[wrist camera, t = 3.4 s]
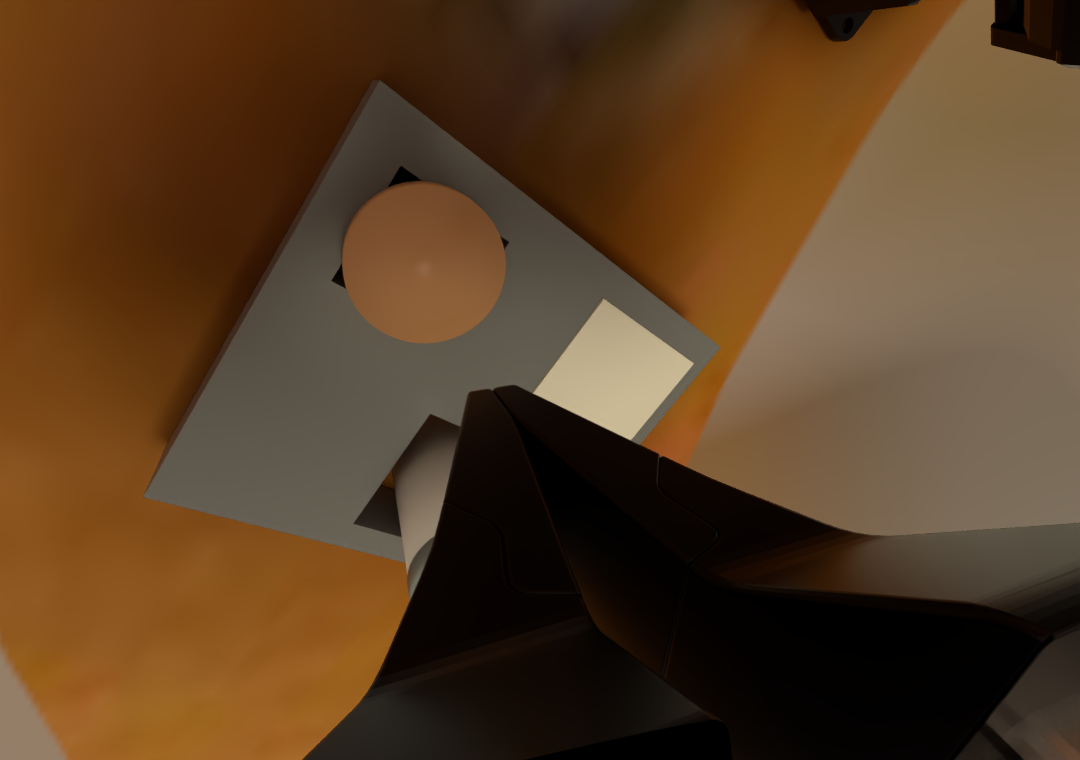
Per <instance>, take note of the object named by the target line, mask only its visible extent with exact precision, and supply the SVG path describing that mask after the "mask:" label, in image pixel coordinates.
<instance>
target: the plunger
mask: <svg viewBox="0 0 1080 760" xmlns="http://www.w3.org/2000/svg"><path fill="white" fill-rule="evenodd" d="M342 269H343V278H344V282H345V286H346V289H347V292H348V294H349V296H350V299H351V300H352V302H353V304H354V306H355V307H356V309H357V310H358V311H359V313H360V314H361V315H362V316H363V317H364V318H365V319H366V320H367V321H368V322H369V323H370V324H371V325H373V326H374V327H375V328H376V329H378V330H380V331H381V332H383V333H385V334H386V335H389V336H391V337H393V338H396V339H399V340H402V341H406V342H412V343H425V344H426V343H437V342H442V341H446V340H450V339H453V338H455V337H458V336H460V335H462V334H464V333H466V332H467V331H469V330H471V329H472V328H473V327H475V326H476V325H477V324H479V323H480V322H481V321H482V320H483V319H484V318H485V317H486V316H487V314H488V313H489V312H490V311H491V309H492V308H493V306H494V305H495V303H496V301H497V299H498V297H499V295H500V293H501V290H502V287H503V283H504V278H505V271H506V259H505V251H504V247H503V243H502V240H501V237H500V234H499V232H498V230H497V228H496V227H495V225H494V223H493V222H492V220H491V219H490V218H489V216H488V215H487V214H486V213H485V212H484V211H483V210H482V209H481V208H480V207H479V206H478V205H477V204H476V203H475V202H474V201H472V200H471V199H470V198H469V197H467V196H466V195H464V194H463V193H461V192H460V191H458V190H456V189H454V188H451V187H449V186H446V185H443V184H440V183H435V182H429V181H411V182H404V183H400V184H396V185H393V186H390V187H388V188H386V189H383V190H382V191H380V192H378V193H377V194H375V195H374V196H372V197H371V198H370V199H369V200H367V201H366V202H365V203H364V204H363V205H362V206H361V207H360V208H359V210H358V211H357V212H356V214H355V215H354V217H353V218H352V220H351V222H350V224H349V226H348V228H347V231H346V234H345V237H344V242H343V247H342Z"/></svg>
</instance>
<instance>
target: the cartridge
mask: <svg viewBox="0 0 1080 760" xmlns="http://www.w3.org/2000/svg"><path fill="white" fill-rule="evenodd" d="M459 430H460V426H457V425H455V424H453V423H451V422H448V421H446V420H444V419H441V418H439V417H437V416H434V415H432V414H430V415H429V416H428V418H427V419H426V421H425V422H424V424H423V425H422V426H421V428H420V429H419V431H418V432H417V434H416V435H415V436H414V438H413V439H412V441H411V442H410V444H409V445H408V446H407V448H406V449H405V451H404V452H403V454H402V455H401V456H400V458H399V459H398V461H397V462H396V463H395V465H394V466H393V468H392V475H393V482H394V488H395V495H396V502H397V508H398V515H399V522H400V528H401V535H402V542H403V548H404V555H405V561H406V568H407V585H408V592H409V599H411V597H412V594H413V592H414V590H415V587H416V585H417V583H418V580H419V578H420V576H421V573H422V570H423V568H424V565H425V562H426V560H427V557H428V554H429V552H430V549H431V546H432V543H433V539H434V536H435V532H436V528H437V525H438V521H439V517H440V512H441V508H442V505H443V501H444V496H445V492H446V487H447V483H448V478H449V474H450V470H451V465H452V461H453V456H454V452H455V447H456V443H457V439H458V434H459Z"/></svg>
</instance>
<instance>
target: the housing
mask: <svg viewBox="0 0 1080 760" xmlns="http://www.w3.org/2000/svg"><path fill="white" fill-rule="evenodd" d="M400 166H402V167H403V168H405V169H406V170H408V171H409V172H411V173H412V174H413V175H415V176H416V177H418V178H419V179H420V180H422V181H429V182H435V183H440V184H443V185H446V186H449V187H451V188H454V189H456V190H458V191H460V192H461V193H463V194H464V195H466V196H467V197H469V198H470V199H471V200H472V201H474V202H475V203H476V204H477V205H478V206H479V207H480V208H481V209H482V210H483V211H484V212H485V213H486V214H487V215H488V216H489V218H490V219H491V220H492V222H493V223H494V225H495V227H496V228H497V230H498V232H499V234H500V237H501V240H502V243H503V247H504V251H505V259H506V271H505V278H504V283H503V287H502V290H501V293H500V295H499V297H498V299H497V301H496V303H495V305H494V306H493V308H492V309H491V311H490V312H489V313H488V314H487V316H486V317H485V318H484V319H483V320H482V321H481V322H480V323H479V324H477V325H476V326H475V327H473V328H472V329H471V330H469V331H467V332H466V333H464V334H462V335H460V336H458V337H455V338H453V339H450V340H446V341H442V342H437V343H426V344H425V343H412V342H406V341H402V340H399V339H396V338H393V337H391V336H389V335H386V334H385V333H383V332H381V331H380V330H378V329H376V328H375V327H374V326H373V325H371V324H370V323H369V322H368V321H367V320H366V319H365V318H364V317H363V316H362V315H361V314H360V313H359V311H358V310H357V309H356V307H355V306H354V304H353V302H352V300H351V299H350V296H349V294H348V292H347V289H346V286H345V282H344V278H343V269H342V247H343V242H344V237H345V234H346V231H347V228H348V226H349V224H350V222H351V220H352V218H353V217H354V215H355V214H356V212H357V211H358V210H359V208H360V207H361V206H362V205H363V204H364V203H365V202H366V201H367V200H369V199H370V198H371V197H372V196H374V195H375V194H377V193H378V192H380V191H382V190H383V189H386V188H387V187H388V186H389V184H390V182H391V181H392V179H393V177H394V176H395V174H396V172H397V171H398V169H399V168H400ZM719 349H720V346H718V345H717V344H716V343H714V342H713V341H712V340H711V339H709V338H708V337H707V336H706V335H704V334H703V333H702V332H700V331H699V330H698V329H697V328H695V327H694V326H693V325H692V324H690V323H689V322H688V321H686V320H685V319H684V318H683V317H681V316H680V315H679V314H678V313H676V312H675V311H674V310H672V309H671V308H670V307H669V306H667V305H666V304H665V303H663V302H662V301H661V300H660V299H658V298H657V297H656V296H655V295H653V294H652V293H651V292H649V291H648V290H647V289H646V288H644V287H643V286H642V285H641V284H639V283H638V282H637V281H635V280H634V279H633V278H632V277H630V276H629V275H628V274H627V273H625V272H624V271H623V270H621V269H620V268H619V267H618V266H616V265H615V264H614V263H612V262H611V261H610V260H609V259H607V258H606V257H605V256H604V255H602V254H601V253H600V252H598V251H597V250H596V249H595V248H593V247H592V246H591V245H590V244H588V243H587V242H586V241H584V240H583V239H582V238H581V237H579V236H578V235H577V234H576V233H574V232H573V231H572V230H570V229H569V228H568V227H567V226H565V225H564V224H563V223H562V222H560V221H559V220H558V219H556V218H555V217H554V216H553V215H551V214H550V213H549V212H547V211H546V210H545V209H544V208H542V207H541V206H540V205H539V204H537V203H536V202H535V201H533V200H532V199H531V198H530V197H528V196H527V195H526V194H525V193H523V192H522V191H521V190H519V189H518V188H517V187H516V186H514V185H513V184H512V183H511V182H509V181H508V180H507V179H505V178H504V177H503V176H502V175H500V174H499V173H498V172H496V171H495V170H494V169H493V168H491V167H490V166H489V165H488V164H486V163H485V162H484V161H482V160H481V159H480V158H479V157H477V156H476V155H475V154H474V153H472V152H471V151H470V150H468V149H467V148H466V147H465V146H463V145H462V144H461V143H460V142H458V141H457V140H456V139H454V138H453V137H452V136H451V135H449V134H448V133H447V132H445V131H444V130H443V129H442V128H440V127H439V126H438V125H437V124H435V123H434V122H433V121H431V120H430V119H429V118H428V117H426V116H425V115H424V114H423V113H421V112H420V111H419V110H417V109H416V108H415V107H414V106H412V105H411V104H410V103H409V102H407V101H406V100H405V99H403V98H402V97H401V96H400V95H398V94H397V93H396V92H394V91H393V90H392V89H391V88H389V87H388V86H387V85H386V84H384V83H383V82H382V81H380V80H373V81H372V82H371V84H370V86H369V88H368V89H367V91H366V93H365V95H364V96H363V98H362V100H361V102H360V104H359V105H358V107H357V109H356V111H355V112H354V114H353V116H352V118H351V119H350V121H349V123H348V125H347V127H346V128H345V130H344V132H343V134H342V135H341V137H340V139H339V141H338V142H337V144H336V146H335V148H334V150H333V151H332V153H331V155H330V157H329V158H328V160H327V162H326V164H325V165H324V167H323V169H322V171H321V173H320V174H319V176H318V178H317V180H316V181H315V183H314V185H313V187H312V188H311V190H310V192H309V194H308V196H307V197H306V199H305V201H304V203H303V204H302V206H301V208H300V210H299V211H298V213H297V215H296V217H295V219H294V220H293V222H292V224H291V226H290V227H289V229H288V231H287V233H286V234H285V236H284V238H283V240H282V242H281V243H280V245H279V247H278V249H277V250H276V252H275V254H274V256H273V257H272V259H271V261H270V263H269V265H268V266H267V268H266V270H265V272H264V273H263V275H262V277H261V279H260V280H259V282H258V284H257V286H256V288H255V289H254V291H253V293H252V295H251V296H250V298H249V300H248V302H247V303H246V305H245V307H244V309H243V311H242V312H241V314H240V316H239V318H238V319H237V321H236V323H235V325H234V326H233V328H232V330H231V332H230V334H229V335H228V337H227V339H226V341H225V342H224V344H223V346H222V348H221V349H220V351H219V353H218V355H217V357H216V358H215V360H214V362H213V364H212V365H211V367H210V369H209V371H208V372H207V374H206V376H205V378H204V380H203V381H202V383H201V385H200V387H199V388H198V390H197V392H196V394H195V395H194V397H193V399H192V401H191V403H190V404H189V406H188V408H187V410H186V411H185V413H184V415H183V417H182V418H181V420H180V422H179V424H178V426H177V427H176V429H175V431H174V433H173V434H172V436H171V438H170V440H169V442H168V443H167V445H166V447H165V450H164V452H163V454H162V456H161V459H160V461H159V463H158V465H157V467H156V470H155V472H154V474H153V476H152V478H151V481H150V483H149V485H148V487H147V490H146V492H145V494H144V496H143V497H145V498H149V499H153V500H157V501H161V502H165V503H169V504H173V505H177V506H181V507H185V508H189V509H193V510H197V511H201V512H205V513H209V514H213V515H217V516H221V517H225V518H229V519H233V520H237V521H241V522H245V523H249V524H253V525H257V526H261V527H265V528H269V529H273V530H277V531H281V532H285V533H289V534H293V535H297V536H301V537H305V538H309V539H313V540H317V541H321V542H325V543H329V544H333V545H337V546H341V547H345V548H349V549H353V550H357V551H361V552H365V553H369V554H373V555H377V556H381V557H385V558H389V559H393V560H397V561H401V562H405V563H406V561H405V555H404V548H403V542H402V535H401V528H400V522H399V515H398V508H397V502H396V495H395V490H393V489H390V488H387V487H384V486H381V483H382V482H383V481H384V479H385V478H386V476H387V475H388V473H389V472H390V471H391V469H392V468H393V466H394V465H395V463H396V462H397V461H398V459H399V458H400V456H401V455H402V454H403V452H404V451H405V449H406V448H407V446H408V445H409V444H410V442H411V441H412V439H413V438H414V436H415V435H416V434H417V432H418V431H419V429H420V428H421V426H422V425H423V424H424V422H425V421H426V419H427V418H428V416H429V415H430V414H432V415H434V416H437V417H439V418H441V419H444V420H446V421H448V422H451V423H453V424H455V425H457V426H460V425H461V421H462V416H463V412H464V408H465V403H466V399H467V394H468V393H469V392H470V391H476V390H482V389H491V390H492V391H493V389H494V388H496V387H501V386H508V385H517V386H519V387H521V388H523V389H525V390H527V391H529V392H531V393H533V394H536V395H538V396H540V397H542V398H544V399H546V400H548V401H550V402H552V403H554V404H556V405H558V406H560V407H563V408H565V409H567V410H569V411H571V412H573V413H575V414H577V415H579V416H581V417H583V418H585V419H587V420H590V421H592V422H594V423H596V424H598V425H600V426H602V427H604V428H606V429H608V430H610V431H612V432H614V433H617V434H619V435H621V436H623V437H625V438H627V439H629V440H631V441H633V442H635V443H637V444H639V445H640V444H641V442H642V441H643V440H644V439H645V438H646V436H647V435H648V434H649V433H650V432H651V430H652V429H653V428H654V427H655V426H656V424H657V423H658V422H659V421H660V420H661V418H662V417H663V416H664V415H665V414H666V412H667V411H668V410H669V409H670V408H671V406H672V405H673V404H674V403H675V402H676V400H677V399H678V398H679V397H680V396H681V394H682V393H683V392H684V391H685V390H686V388H687V387H688V386H689V385H690V384H691V382H692V381H693V380H694V379H695V378H696V376H697V375H698V374H699V373H700V372H701V370H702V369H703V368H704V367H705V366H706V364H707V363H708V362H709V361H710V359H711V358H712V357H713V356H714V355H715V353H716V352H717V351H718V350H719Z"/></svg>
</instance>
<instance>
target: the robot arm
mask: <svg viewBox="0 0 1080 760" xmlns="http://www.w3.org/2000/svg"><path fill="white" fill-rule="evenodd" d="M919 1H920V0H805V2H806V3H807V5H808V7H809V8H810V10H811V12H812V13H813V15H814V16H815V17H818V19H819V20H820V22H821V24H822V25H823V27H824V29H825V30H826V32H827V34H828V35H829V37H830V39H831V40H832V41H835V42H841V41H847V40H849V39H850V38H852V37H853V36H854V34H855V33H856V32H857V30H858V29H859V28H860V27H861V25H862V24H863V23H864V21H865V20H866V19H867V17H868V16H869V15H870V14H871V12H872V11H873V10H878V9H886V8H894V7H902V6H910V5H915V4H918V3H919ZM844 21H845V28H844V30H842V26H843V23H844ZM991 45H993V46H997V47H1001V48H1006V49H1009V50H1013V51H1017V52H1021V53H1025V54H1029V55H1034V56H1038V57H1041V58H1045V59H1049V60H1053V61H1056V62H1057V63H1059V64H1061V65H1064V66H1066V67H1069V68H1080V0H995V22H994V23H993V24H992V25H991ZM302 760H1080V523H1071V524H1059V525H1044V526H1030V527H1015V528H1000V529H985V530H971V531H956V532H942V533H927V534H912V535H897V536H881V535H869V534H862V533H856V532H852V531H848V530H844V529H840V528H837V527H834V526H831V525H828V524H825V523H823V522H820V521H818V520H815V519H813V518H810V517H807V516H805V515H802V514H800V513H797V512H795V511H792V510H790V509H787V508H784V507H782V506H779V505H777V504H774V503H771V502H769V501H766V500H764V499H761V498H759V497H756V496H754V495H751V494H748V493H746V492H744V491H741V490H739V489H736V488H733V487H731V486H729V485H726V484H724V483H721V482H719V481H717V480H714V479H712V478H710V477H707V476H705V475H703V474H701V473H699V472H696V471H694V470H692V469H690V468H688V467H685V466H683V465H681V464H679V463H677V462H675V461H673V460H671V459H669V458H667V457H665V456H661V457H660V455H659V454H658V453H656V452H654V451H652V450H650V449H648V448H646V447H643V446H641V445H639V444H637V443H635V442H633V441H631V440H629V439H627V438H625V437H623V436H621V435H619V434H617V433H614V432H612V431H610V430H608V429H606V428H604V427H602V426H600V425H598V424H596V423H594V422H592V421H590V420H587V419H585V418H583V417H581V416H579V415H577V414H575V413H573V412H571V411H569V410H567V409H565V408H563V407H560V406H558V405H556V404H554V403H552V402H550V401H548V400H546V399H544V398H542V397H540V396H538V395H536V394H533V393H531V392H529V391H527V390H525V389H523V388H521V387H519V386H517V385H508V386H501V387H496V388H494V389H493V391H492V390H491V389H482V390H476V391H470V392H469V393H468V394H467V399H466V403H465V408H464V412H463V416H462V421H461V425H460V430H459V434H458V439H457V443H456V447H455V452H454V456H453V461H452V465H451V470H450V474H449V478H448V483H447V487H446V492H445V496H444V501H443V505H442V508H441V512H440V517H439V521H438V525H437V528H436V532H435V536H434V539H433V543H432V546H431V549H430V552H429V554H428V557H427V560H426V562H425V565H424V568H423V570H422V573H421V576H420V578H419V580H418V583H417V585H416V587H415V590H414V592H413V594H412V597H411V599H410V602H409V604H408V606H407V609H406V611H405V613H404V616H403V618H402V620H401V623H400V625H399V627H398V630H397V632H396V634H395V637H394V639H393V641H392V644H391V646H390V648H389V651H388V653H387V655H386V657H385V660H384V662H383V664H382V666H381V668H380V670H379V672H378V674H377V676H376V678H375V680H374V682H373V684H372V685H371V687H370V688H369V690H368V692H367V693H366V694H365V696H364V697H363V698H362V700H361V701H360V702H359V704H358V705H357V706H356V707H355V708H354V709H353V710H352V711H351V712H350V713H349V714H348V715H347V716H346V717H345V718H344V719H343V720H342V721H341V722H340V723H339V724H338V725H337V726H336V727H335V728H334V729H333V730H332V731H331V732H330V733H329V734H328V735H327V736H326V737H325V738H324V739H323V740H322V741H321V742H320V743H319V744H318V745H317V746H316V747H315V748H314V749H313V750H312V751H310V752H309V753H308V754H307V755H306V756H305V757H304V758H303V759H302Z"/></svg>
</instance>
